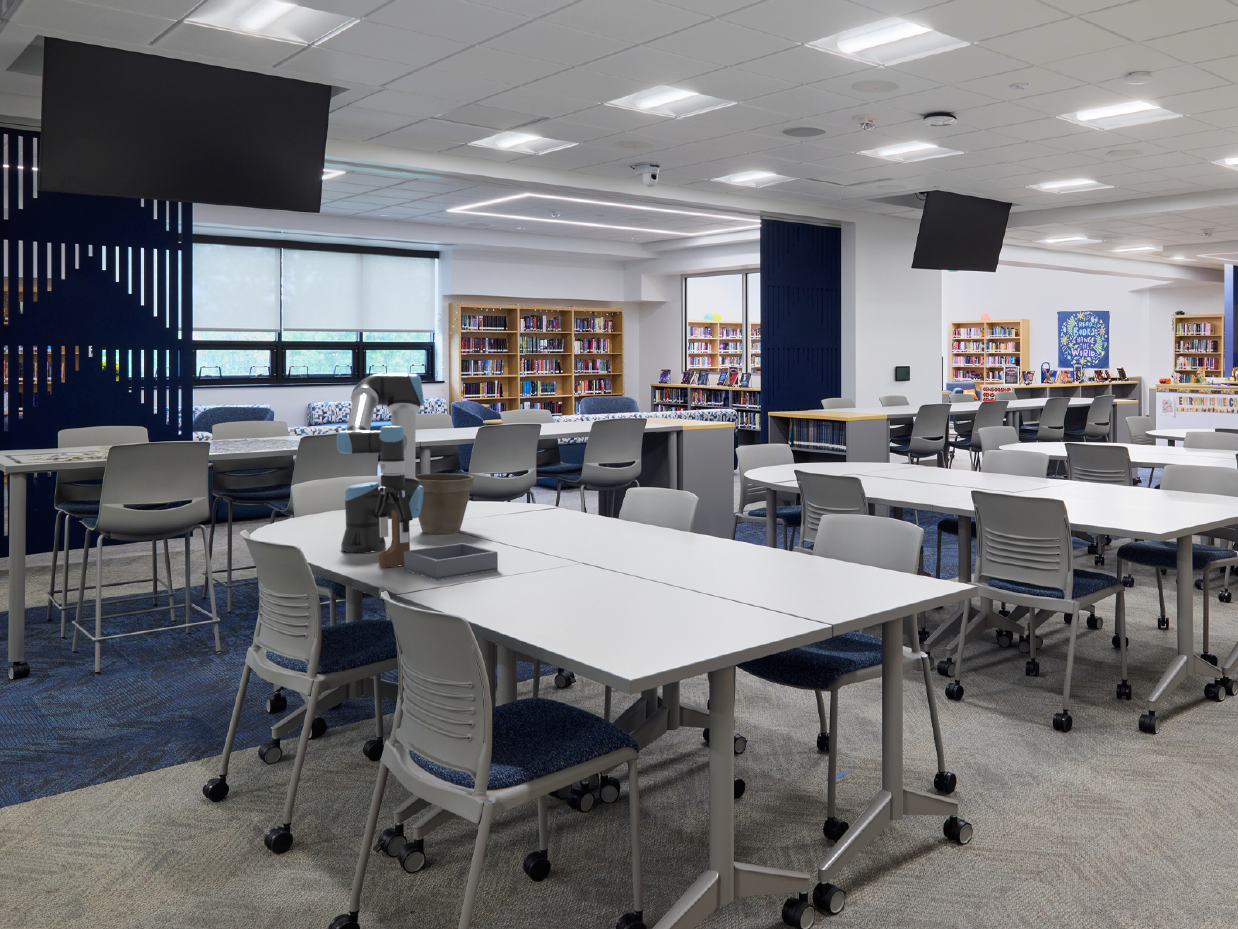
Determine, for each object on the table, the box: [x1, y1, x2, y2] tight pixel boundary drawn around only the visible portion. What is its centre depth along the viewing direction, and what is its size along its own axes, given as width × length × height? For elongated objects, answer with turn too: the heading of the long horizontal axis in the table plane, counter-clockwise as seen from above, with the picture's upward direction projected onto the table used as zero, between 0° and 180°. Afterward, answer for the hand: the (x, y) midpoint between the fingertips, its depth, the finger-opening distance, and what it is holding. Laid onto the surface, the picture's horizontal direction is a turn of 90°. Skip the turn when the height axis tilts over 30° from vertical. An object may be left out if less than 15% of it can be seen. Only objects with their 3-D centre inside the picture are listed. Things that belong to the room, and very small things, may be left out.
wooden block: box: [378, 509, 411, 569], centre depth 308 cm, size 9×4×18 cm, turn 125°
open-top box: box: [403, 542, 499, 581], centre depth 302 cm, size 20×22×6 cm
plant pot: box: [415, 473, 474, 535], centre depth 372 cm, size 25×25×22 cm
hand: (394, 539), depth 308 cm, fingers open, 13 cm apart
